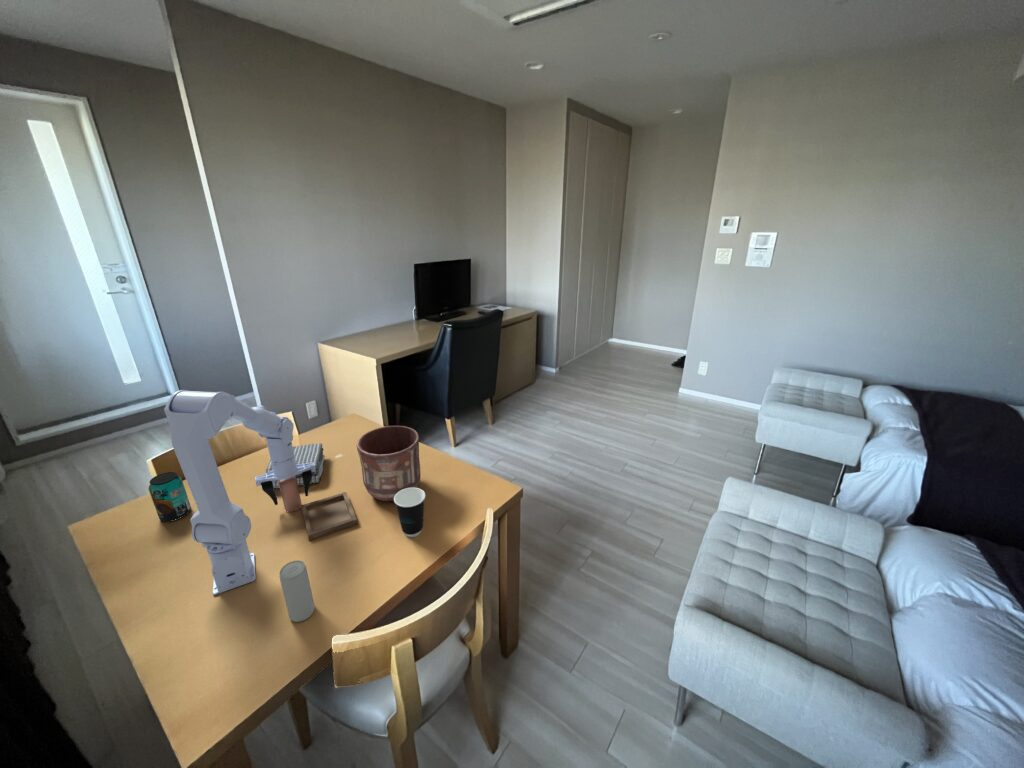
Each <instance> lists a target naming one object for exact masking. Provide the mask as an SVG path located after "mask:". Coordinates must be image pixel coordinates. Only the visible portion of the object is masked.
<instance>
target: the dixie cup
mask: <svg viewBox="0 0 1024 768" xmlns="http://www.w3.org/2000/svg"><path fill="white" fill-rule="evenodd" d="M425 499H426V492H425V491H424V490H423V489H421V488H419V487H416V488H406V489H403V490H401V491H399V492H398V493H397V494H396V495H395V496H394V501H393V502H394V504H395V506H396V510H397V515H398V518H399V523H400V527H401V531H402V532H403V534H404V536H406V537H408V538H414V537H417V536H419V535H420V534H421V533H422V531H423V527H424V511H425V510H424V509H425Z"/></svg>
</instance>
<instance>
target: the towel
mask: <svg viewBox="0 0 1024 768" xmlns="http://www.w3.org/2000/svg"><path fill="white" fill-rule="evenodd" d="M293 451H294V456H295V461H296V464H307V463H313V462H314V465H315V470H316V471H314V472H312V479H311V481H310V484H309V485H311V484H312V483H313V484H317V483H320V480H319V478H321V477H322V474H323V470H324V465H323V464H324V460H325V455H324V447H323V443H322V442H321V443H320V442H319V443H311V444H302V445H297V446H294V445H293ZM269 459H270V458H269ZM270 471H273V468H272V464H271V459H270V460H269V463H268V465H267V467H266V469H265V473H268V472H270ZM294 477H296V478H297V483H298V486H304V485H303V478H302V474H298V475H295V476H294ZM279 481H280V480H275V481H272V483H273V487H274V488H275V489H280V486H279Z"/></svg>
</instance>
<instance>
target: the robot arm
mask: <svg viewBox="0 0 1024 768" xmlns="http://www.w3.org/2000/svg"><path fill="white" fill-rule="evenodd" d="M163 411H164V413H165V416H166V419H167V422H168V425H169V427H170V437H171V438H170V440H171V446H172V448H173V450H174V453H175V455H176V457H177V460H178V463H179V465H180V468H181V470H182V472H183V475H184V478H185V480H186V482H187V485H188V488H189V490H190V492H191V496H192V497H193V500H194V502H195V503H194V504H195V505H196V508H197V510H196V512H194V513H193V515H192V517H191V518H190V520H189V522H190V523H191V538H192V540H193V541H194V542H196V543H200V544H201V545H202V548H205V549H206V553H207V555H208V557H209V561H210V565H211V573H212V576H213V584H212V595H213V596H215V595H218V594H222V593H224V592H226V591H229V590H232V589H235V588H238V587H240V586H243V585H246V584H248V583H251V582H254V581H256V562H255V560H256V559H255V553H254V552H251V553H250V550H249V546H248V542H247V538H248V536H249V535H250V533H251V530H252V523H251V522H252V521H251V519H250V517H249V515H246V514H245V512H244V509H243V508H242V507H240V506H239V505H237V504H235V503H233V502H232V501H230V498H229V496H228V493H227V489H226V486H225V484H224V481H223V478H222V476H221V473H220V470H219V467H218V464H217V462H216V461H217V460H216V459H215V456H214V453H213V450H212V447H211V444H210V442H209V441H210V439H212V438H214V437H217V436H218V434H219V432H220V431H221V430H222V428H224V426H225V424H226V423H227V421H228V420H229V419H230V418H233V419H235V420H239V421H242V425H243V426H244V428H246V429H247V430H250V431H254V432H255V433H257V434H258V436H259V437H260V438H265V441H266V445H267V450H268V454H269V459H271V464H272V468H273V471H270V472H268V473H266V472H265V473H262V474H259V475H257V476H255V477H254V479H255V486H256V487H261V489H262V491H263V492H264V493H265V494H267V496H268V497H270V499H271V500H272V501H273V503H274V506H277V505H279V504H278V503H279V502H278V498H277V493H276V490H275V489H274V487H273V483H272V481H275V480H283V479H288V478H291V477H293V476H295V475H298V474H302V478H303V485H302V486H303V492H304V496H305V497H308V496H309V489H310V485H311V484H310V481H311V479H312V472H314V471H316V470H315V465H314V462H313V463H307V464H296V461H295V456H294V451H293V447H294V445H293V440H294V434H293V433H294V427H295V426H294V422H293V421H292V420H291V419H289V417H287V416H286V417H285V416H279V415H278V414H277V412H274V411H270V410H267V407H266V406H265V405H257V406H252V407H251V406H248V405H247V404H245V403H244V402H242V401H240V400H238V399H237V398H236V397H235V395H233V394H229V393H227V392H226V391H196V390H193V391H192V390H187V389H179V390H177V391H175V392H174V393H173V394H172V395H171V396H170V398H169V399H168V401H167V403H166V405H165V407H164V408H163Z"/></svg>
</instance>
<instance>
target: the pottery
mask: <svg viewBox="0 0 1024 768" xmlns="http://www.w3.org/2000/svg"><path fill="white" fill-rule="evenodd" d="M419 438H420V437H419V433H418V432H417V431H416V430H415V429H414V428H413V427H412V428H411V427H408V426H406V425H386V426H382V427H378V428H375V429H372V430H370V431H367V432H366V433H364V434H363V435H362V436H361V437H360V438H359V439H358V440H357V443H356V450H357V453H358V456H359V461H360V465H361V474H362V481H363V485H364V487H365V489H366V491H367V493H368V494H369V495H370V496H371V497H373V498H375V499H376V500H377V501H382V502H387V503H390V502H391V501H392V502H394V496H395V495H396V494H397V493H398V492H399V491H401V490H403V489H406V488H418V485H419V483H420V481H421V464H420V463H421V461H420V439H419Z"/></svg>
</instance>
